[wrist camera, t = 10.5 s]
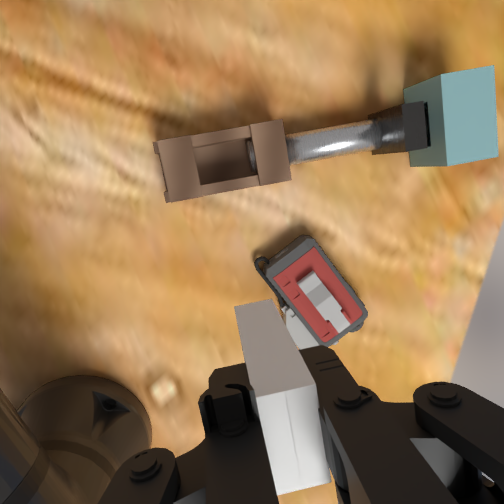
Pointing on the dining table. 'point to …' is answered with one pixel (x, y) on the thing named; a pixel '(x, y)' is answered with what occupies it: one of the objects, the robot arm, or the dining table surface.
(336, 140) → the rod
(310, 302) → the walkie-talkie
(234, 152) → the sleeve
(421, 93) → the socket
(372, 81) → the dining table surface
